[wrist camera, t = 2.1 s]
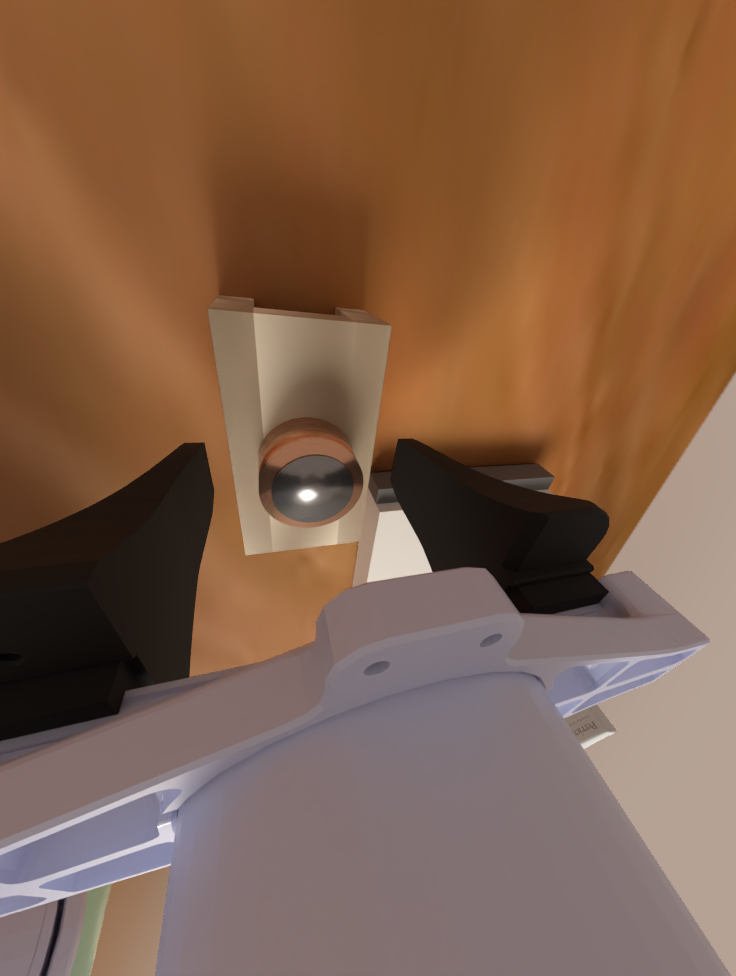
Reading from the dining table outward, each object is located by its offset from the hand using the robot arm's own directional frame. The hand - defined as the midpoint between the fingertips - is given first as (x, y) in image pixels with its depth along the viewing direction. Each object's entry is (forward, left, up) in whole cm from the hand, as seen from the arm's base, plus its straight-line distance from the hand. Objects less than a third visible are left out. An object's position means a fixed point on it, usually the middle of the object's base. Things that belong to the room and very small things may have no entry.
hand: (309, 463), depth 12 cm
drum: (0, 0, 0) cm, 0 cm away
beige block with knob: (0, 0, -4) cm, 4 cm away
